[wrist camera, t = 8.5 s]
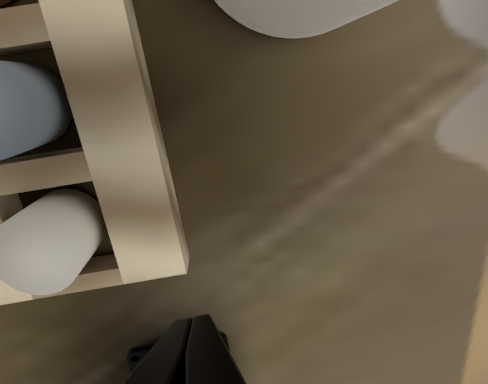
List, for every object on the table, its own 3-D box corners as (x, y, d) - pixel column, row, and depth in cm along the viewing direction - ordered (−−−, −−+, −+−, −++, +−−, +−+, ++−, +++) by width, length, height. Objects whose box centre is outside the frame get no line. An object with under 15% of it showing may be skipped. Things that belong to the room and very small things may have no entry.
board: (189, 256, 21) (186, 273, 19) (-8, 289, 21) (-31, 310, 19) (96, -156, 15) (78, -189, 13) (-184, -113, 15) (-243, -141, 13)
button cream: (115, 248, 20) (91, 287, 17) (46, 259, 20) (6, 301, 17) (96, 183, 19) (65, 209, 15) (22, 195, 19) (-27, 224, 15)
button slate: (82, 137, 18) (46, 153, 15) (6, 150, 18) (-51, 168, 15) (58, 56, 17) (11, 49, 13) (-24, 69, 17) (-94, 66, 13)
